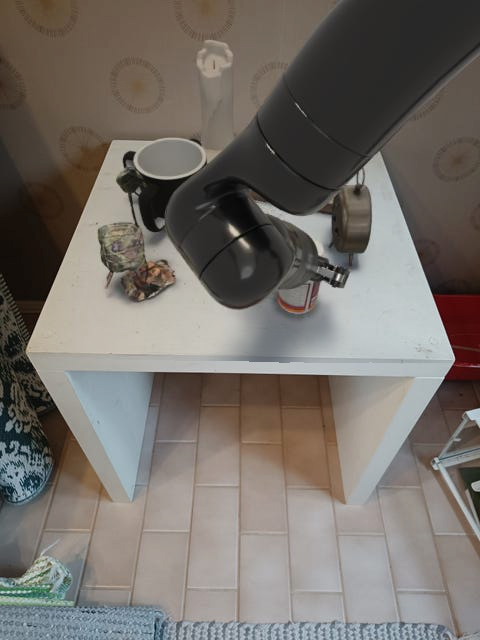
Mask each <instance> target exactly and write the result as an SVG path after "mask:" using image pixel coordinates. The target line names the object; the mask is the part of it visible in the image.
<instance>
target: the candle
mask: <svg viewBox="0 0 480 640" xmlns="http://www.w3.org/2000/svg"><path fill="white" fill-rule="evenodd" d="M196 73H197V82H198V87H199V98H200V99H199V100H200V143H201V145H202V148H203V149H204V150H205V152H206V156H207V164H208V163H209V162H210V161H212V160H213V159H214V158H215V157H216V156H217V155H218V154H219V153H220V152H221V151H223V150H224V149H225V148H226V147H227V146H228V145H229V144H230V143H231V142H232V141H233V140H234V139H235V130H234V98H235V97H234V96H235V95H234V93H235V92H234V89H235V88H234V86H235V85H234V84H235V83H234V81H235V79H234V53H233V52H232V51H231V49H230V46H229V44H228V43H226V42H222V41H218V40H214V39H205V40H204V41H203V44H202V48H201V50H199V51H197V58H196Z"/></svg>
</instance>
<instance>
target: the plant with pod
mask: <svg viewBox="0 0 480 640" xmlns="http://www.w3.org/2000/svg"><path fill="white" fill-rule="evenodd" d="M115 182H116V184H117V185H118V186H119V188H120V189H121V190H122V192H124V193H125V194H127V197H128V201H129V204H130V209H131V215H132V219H133V222H134V223H133V222H132V221H131V222H128V221H119V222H113V223H110V224H105V225H103V226H100V227H98V228H97V241H98V243H99V245H100V248H99V249H100V250H99V255H100V261H101V263H102V264H103V266H105V268H107V269H108V271H109V272H108V274H107V276H106V281H105V285H104V289H106V290H107V289H108V287H109V286H110V283H111V280H112V278H113V276H114V273H116V274H119V273H124V272H125V273H124V274H122V276H121V277H119V279H120V280H119V284H120V285H121V286H122V287H123V289H124V292H125V294H126V295H127V296H128V299H130V300H132V301H133V302H137V301H138V302H140V301H143V300H146V299H148V298H151V297H154V296H156V295H157V294H158V293H159V292H160V291H161V290H162V289H166V288H167V285H170V284H175V283H176V280H177V279H176V278H177V277H176V275H175V274H174V273H175V271H176V270H173V269H171V266H170V264H168V260H167V259H162V258H161V259H159V260H156V261H154V262H153V261H147V258H146V253H145V252H146V250H145V235H144V233H143V229H142V228H141V226H140V225H139V224H138V220H137V215H136V212H135V207H134V200H133V195H132V194H135V193H134V192H135V191H136V190H137V188H138V187H139V186H140V185H143V186H144V187H146V186H147V185H146V184H145V183H144V182H143V177H142V176H141V174H140V173H139V172H138V171H136V169H134V168H133V167H132V166H130V165H129V166H127V167H126V168H125V169H124V168H123V169H122V170H121V171H119V172H118V174H117V176H116V179H115ZM98 224H99V222H95V224H94V225H95V226H96V225H97V226H98Z"/></svg>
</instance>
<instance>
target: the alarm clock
mask: <svg viewBox="0 0 480 640" xmlns="http://www.w3.org/2000/svg"><path fill="white" fill-rule="evenodd" d="M361 170H362V179H361V183H359V175H360V174H359V173H360V171H359V172H358V173H357V174H356V180H355V181H356V184H353V185H352V184H350V185H349V184H346V185H347V186H344V187H343V188H342V190H341V191H340V192H339V193H338V194H337V195H336V196H335V197H334V200H333V205H331V208H332V215H331V222H330V223H331V226H330V227H331V242H330V244H329V245H328V249H331V248H332V247H334V249H335V251H336V252H337V253H339V254H344V255H346V254H348V258H349V259H348V262H349V263H348V266H349V267H353V266H354V264H353V262H354V254H364V253H365V252H366V250H367V248H368V246H369V243H370V239H371V235H372V234H371V232H372V225H373V203H372V197H371V192H370V190H369V187H368V186H367V185H366V184H365V180H366V170H365V166H364V167H363V168H362V169H361Z"/></svg>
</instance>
